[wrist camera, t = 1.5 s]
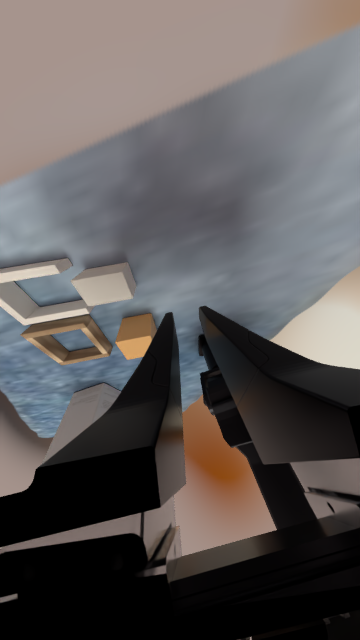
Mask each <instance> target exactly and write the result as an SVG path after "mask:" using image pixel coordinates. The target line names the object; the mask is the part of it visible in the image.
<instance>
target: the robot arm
mask: <svg viewBox="0 0 360 640" xmlns="http://www.w3.org/2000/svg"><path fill="white" fill-rule="evenodd" d="M199 319H200V322H201V325H202V329H203V332H204V335H201V336H199V355H200V356H204V358H205V361H206V363H207V366H208V369H209V370H208V371H206V372H202V373H200V376H201V378H200V379H201V385H202V391H203V400H204V404H205V405H206V406H207V407H208V409H209V410H210V412H211V414H212V415H215V417H216V419H217V422H218V424H219V426H220V429H221V432H222V435H223V438H224V439H225V441H226V442H227V443H228V444H229V446H230V447H232V448H233V447H237V448H238V449H239V451H241V453H242V454H244V455H245V456H246V458H247V460H248V462H249V464H250V467H251V469H252V471H253V474H254V476H255V479H256V481H257V483H258V486H259V488H260V491H261V493H262V495H263V498H264V500H265V502H266V505H267V507H268V510H269V512H270V514H271V517H272V519H273V521H274V524H275V526H276V528H277V530H276V531H272V532H268V533H265V534H261V535H258V536H254V537H250V538H247V539H243V540H240V541H236V542H233V543H229V544H225V545H222V546H218V547H214V548H211V549H207V550H204V551H200V552H196V553H193V554H189V555H186V556H182V551H181V539H180V528H179V526H176V522H175V509H174V508H175V507H174V494H175V493H177V492H178V491H179V490H180V489H181V488H182V487H183V486H184V485H185V484H186V477H185V460H184V440H183V422H182V403H181V384H180V365H179V347H178V339H177V334H176V329H175V323H174V318H173V313H172V312H169V313H166V314H165V316H164V318H163V320H162V322H161V324H160V326H159V328H158V330H157V332H156V334H155V336H154V337H153V339H152V341H151V343H150V345H149V347H148V349H147V351H146V353H145V355H144V357H143V358H142V360H141V362H140V364H139V365H138V367H137V369H136V370H135V372H134V373H133V375H132V376H131V378H130V379H129V381H128V382H127V384H126V385H125V387H124V388H123V390H122V391H121V393H120V394H119V396H118V397H117V399H116V400H115V401H114V403H113V404H112V405H111V407H110V408H109V409H108V410H107V411H106V412H105V413H104V414H103V415H102V416H101V417H100V418H99V419H97V420H96V421H95V422H94V423H92V424H91V425H90V426H89V427H88V428H86V429H85V430H84V431H83V432H81V433H80V434H79V435H78V436H76V437H75V438H74V439H73V440H71V441H70V442H69V443H68V444H67V445H65V446H64V447H63V448H62V449H60V450H59V451H58V452H57V453H55V454H54V455H53V456H52V457H50V458H49V459H48V460H47V461H46V462H44V463H43V464H42V465H41V466H39V467H38V468H37V469H36V471H35V475H34V479H33V482H32V484H31V485H30V486H29V488H28V489H27V490H25V491H22V492H19V493H15V494H11V495H7V496H3V497H0V547H2V549H0V640H250V637H251V636H252V640H360V370H359V369H352V368H345V367H337V366H330V365H326V364H321V363H318V362H315V361H313V360H310V359H308V358H305V357H303V356H301V355H299V354H297V353H294V352H292V351H290V350H288V349H286V348H284V347H282V346H279V345H277V344H275V343H273V342H271V341H269V340H267V339H265V338H263V337H261V336H259V335H257V334H255V333H254V332H252V331H250V330H248V329H246V328H245V327H243V326H241V325H239V324H237V323H236V322H234V321H232V320H230V319H228V318H226V317H225V316H223V315H221V314H219V313H217V312H216V311H214V310H212V309H210V308H208V307H207V306H201V307H199ZM292 467H293V468H292ZM293 469H294V470H293ZM297 476H298V477H297ZM298 478H299V479H298ZM299 480H300V481H299ZM300 482H301V483H300ZM303 487H304V488H303ZM304 489H305V490H304ZM305 491H306V492H305Z"/></svg>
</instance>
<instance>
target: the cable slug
mask: <svg viewBox="0 0 360 640" xmlns="http://www.w3.org/2000/svg"><path fill="white" fill-rule="evenodd" d="M71 282H72V284H73V285H74V287H75V288H76V289H77V291H78V292H79V294H80V295H81V297H82V298H83V299H84V301H85V302H86V304H87V305H88V306H94V305H99V304H105V303H110V302H116V301H121V300H127V299H132V298H133V296H134V293H135V289H136V283H135V281H134V278H133V275H132V272H131V270H130V267H129V264H128V262H126V263H121V264H115V265H109V266H103V267H97V268H91V269H85V270H84V271H83V272H81V273H80V274H79V275H77V276H76V277H75V278H73V279H72V280H71Z"/></svg>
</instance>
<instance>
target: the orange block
mask: <svg viewBox="0 0 360 640" xmlns="http://www.w3.org/2000/svg"><path fill="white" fill-rule="evenodd" d="M156 332H157V329H156V326H155V323H154V320H153V317H152V314H151V313H149V314H144V315H139V316H133V317H128V318H123V319H122V323H121V326H120V329H119V332H118V335H117V339H116V342H115V343H116V344H117V346H118V347H119V348H120V350H121V351H122V353H123V354H124V356H125V357H126V359H127V360H129V359H134V358H139V357H144V355H145V353H146V351H147V349H148V347H149V345H150V343H151V341H152V339H153V337H154V336H155V334H156Z"/></svg>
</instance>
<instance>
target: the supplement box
mask: <svg viewBox="0 0 360 640" xmlns="http://www.w3.org/2000/svg"><path fill="white" fill-rule="evenodd" d="M120 393H121V391H119V390H117V389H115V388H113V387H111V386H109V385H107V384H105V383H102V384H99V385H96V386H93V387H90V388H87V389H84V390H81V391H78V392H75V393H74V394H73V396H72V399H71V401H70V403H69V405H68V407H67V410H66V412H65V414H64V416H63V419H62V421H61V423H60V425H59V427H58V430H57V432H56V434H55V436H54V439H53V441H52V443H51V445H50V448H49V450H48V452H47V454H46V456H45V459H44V461H43V463H44V462H46V461H47V460H48V459H49V458H50V457H52V456H53V455H54V454H55V453H57V452H58V451H59V450H60V449H62V448H63V447H64V446H65V445H67V444H68V443H69V442H70V441H71V440H73V439H74V438H75V437H76V436H78V435H79V434H80V433H81V432H83V431H84V430H85V429H86V428H88V427H89V426H90V425H91V424H92V423H94V422H95V421H96V420H97V419H99V418H100V417H101V416H102V415H103V414H104V413H105V412H106V411H107V410H108V409H109V408H110V407H111V405H112V404H113V403H114V401H115V400H116V399H117V397H118V396H119V394H120ZM43 463H42V464H43Z"/></svg>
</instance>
